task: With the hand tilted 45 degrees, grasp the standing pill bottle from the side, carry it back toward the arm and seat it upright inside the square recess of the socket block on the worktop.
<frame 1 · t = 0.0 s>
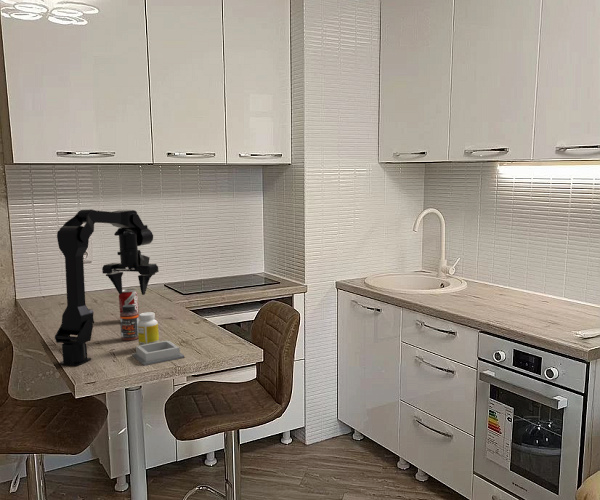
hand: (131, 294, 194), 15 cm above the breakfast bar, tool pointing down, fingers open, 9 cm apart
soda can: (130, 321, 219), on the breakfast bar
pill bottle: (149, 348, 182), on the breakfast bar
supplement bottle: (130, 339, 194), on the breakfast bar
socket block: (158, 356, 172), on the breakfast bar
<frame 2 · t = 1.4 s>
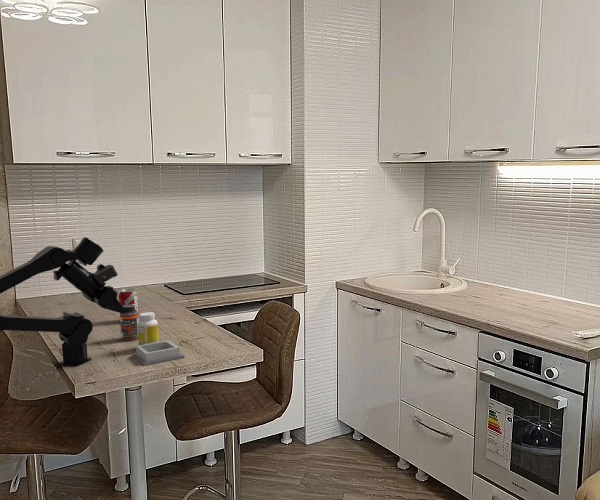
hand: (120, 310, 176), 13 cm above the breakfast bar, tool tilted 45°, fingers open, 9 cm apart
nothing on the breakfast bar moved.
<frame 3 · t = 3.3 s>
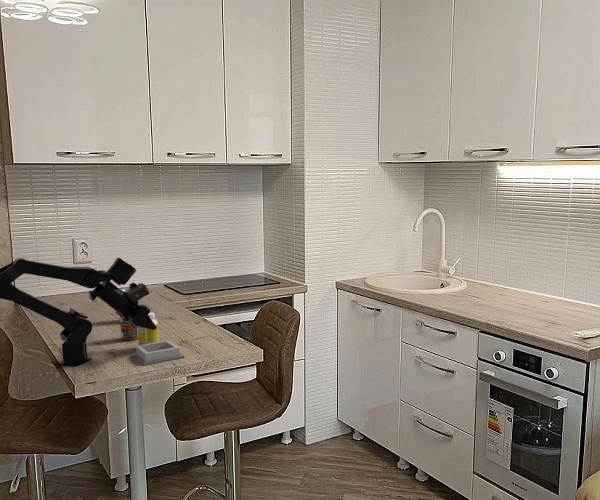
hand: (152, 326, 182), 7 cm above the breakfast bar, tool tilted 45°, fingers closed on pill bottle, 6 cm apart
pill bottle: (149, 348, 182), on the breakfast bar, touching gripper
everything else where it was.
when the fingers open (7 cm above the breakfast bar, at t = 6.8 s): pill bottle stays where it is, resting on socket block.
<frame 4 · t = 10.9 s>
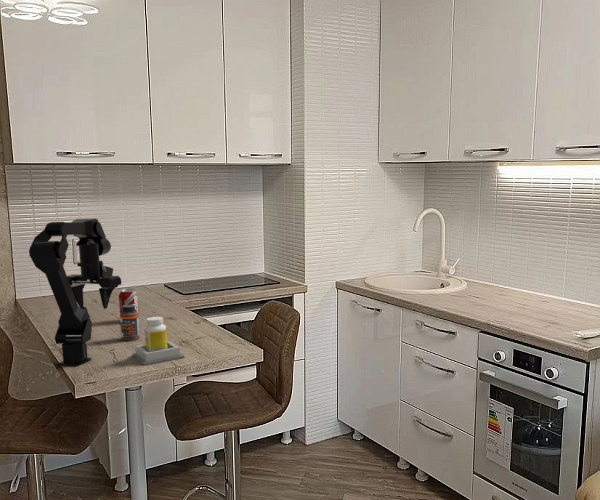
hand: (93, 307, 182), 13 cm above the breakfast bar, tool pointing down, fingers open, 9 cm apart
pill bottle: (157, 355, 172), resting on socket block
everything else where it was.
at the end: pill bottle 0.2 cm off-centre on the socket block, point 0.4 cm above the socket block's base; pill bottle tilted 0°; the gripper is holding nothing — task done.
